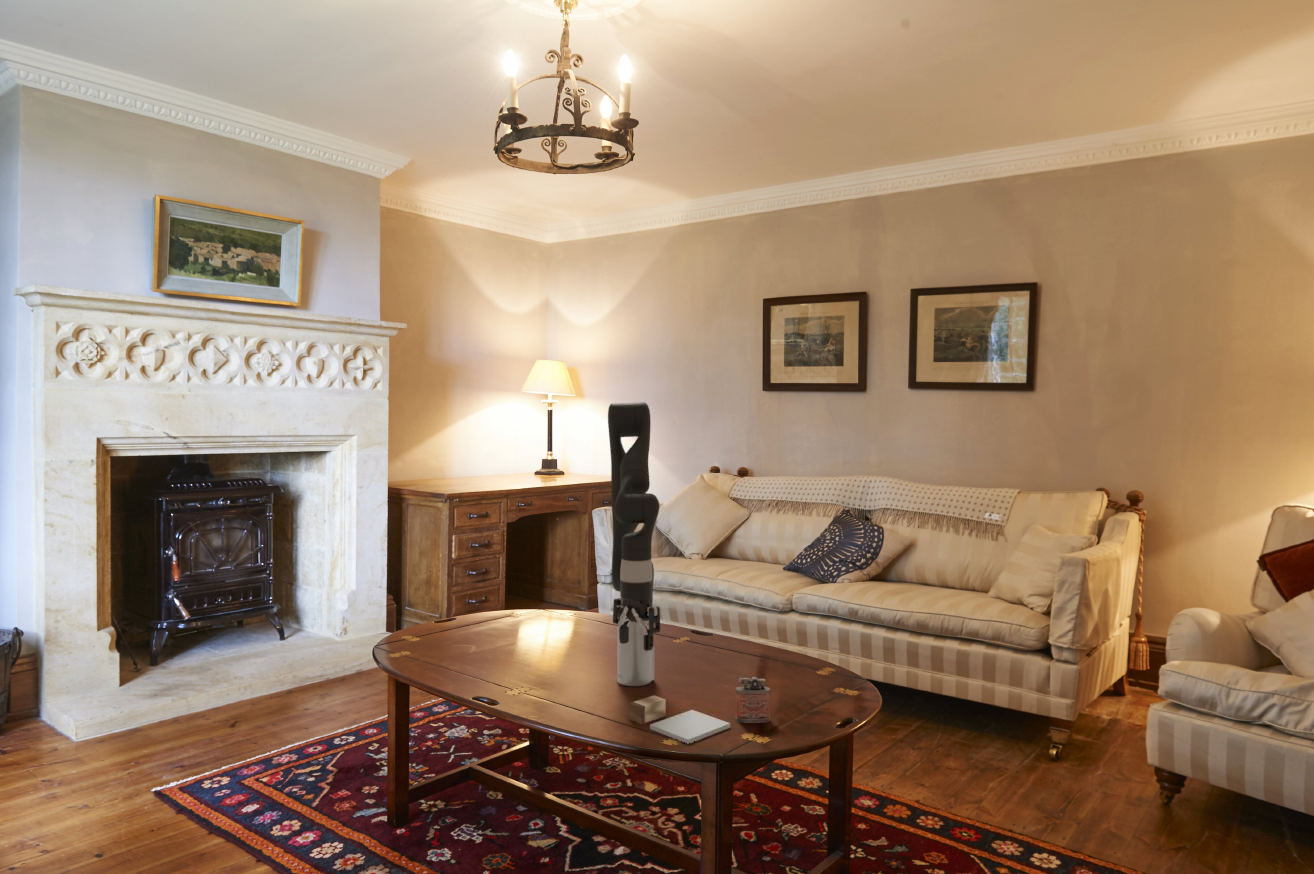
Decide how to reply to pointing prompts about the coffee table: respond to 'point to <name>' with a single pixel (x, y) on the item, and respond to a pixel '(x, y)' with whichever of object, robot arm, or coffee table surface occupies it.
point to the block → (647, 709)
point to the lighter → (752, 701)
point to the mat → (690, 726)
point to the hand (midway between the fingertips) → (635, 646)
